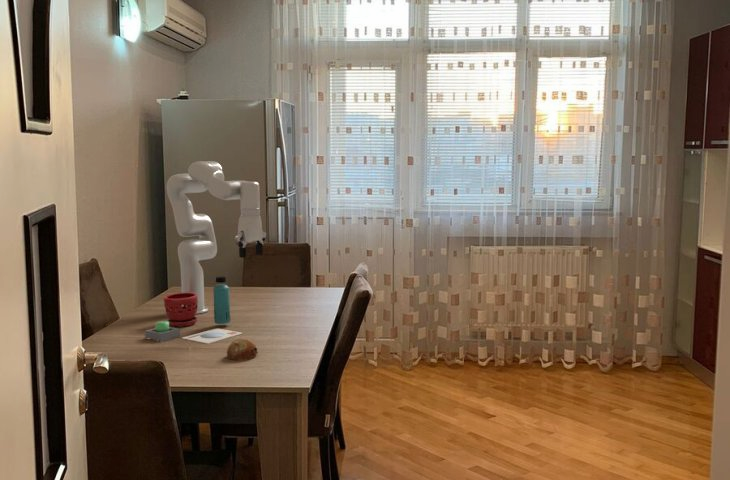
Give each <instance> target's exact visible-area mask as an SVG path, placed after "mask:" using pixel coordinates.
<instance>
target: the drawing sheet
mask: <svg viewBox="0 0 730 480" xmlns="http://www.w3.org/2000/svg"><path fill="white" fill-rule="evenodd" d="M242 334H244V332H240V331H234V330H229V329H223V328H218V327H217V328H213V329H208V330H205V331H202V332H201V331H200V332H198V333H195V334H190V335H187V336H183V337H181V339H182V340H186V339H187V341H192V342H197V343H202V344H207V345H208V344H213V343H216V342H219V341H222V340H226V339H229V338H233V337H236V336H239V335H242Z"/></svg>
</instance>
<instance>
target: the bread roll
mask: <svg viewBox="0 0 730 480" xmlns="http://www.w3.org/2000/svg"><path fill="white" fill-rule="evenodd" d="M258 353H259V351H258V348H257V346H256V344H255V343H254V342H252V341H251V340H248V339H244V338H238V339H235V340H233V341H232V342H231V343H230V344H229V345H228V347H227V350H226V356H227V359H228V360H230V359H231V361H245V360H246V361H247V360H251V359H254V358H256V356H257V355H258Z"/></svg>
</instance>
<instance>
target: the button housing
mask: <svg viewBox="0 0 730 480" xmlns="http://www.w3.org/2000/svg"><path fill="white" fill-rule="evenodd" d="M144 336H145V337H146V338H150V339H154V340H153V341H155V340H158V341H157V342H159V341H163V342H165V340H167V341H170V340H174V339H178V338H180V337H181V330H180V328H177V327H176V328H175V327H173V326H172V327H171V326H169V331H166V332H162V333H161V332H156V328H155V327H154V328H150V329H147V330H144ZM177 337H178V338H177ZM173 338H174V339H173ZM150 339H149V340H150ZM169 339H170V340H169Z"/></svg>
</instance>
